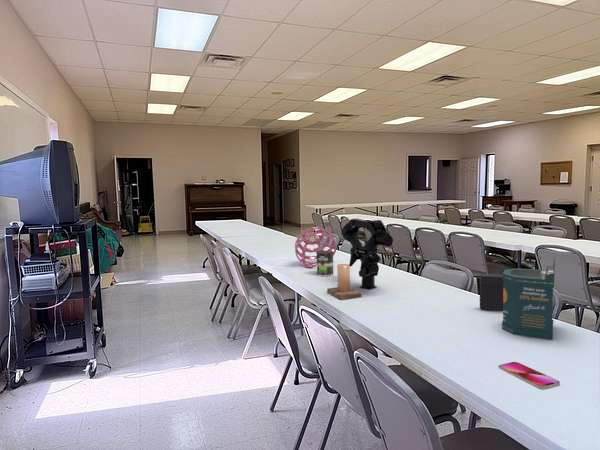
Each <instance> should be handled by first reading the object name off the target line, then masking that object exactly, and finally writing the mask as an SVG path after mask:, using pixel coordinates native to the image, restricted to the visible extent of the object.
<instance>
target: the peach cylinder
mask: <svg viewBox="0 0 600 450" xmlns="http://www.w3.org/2000/svg"><path fill="white" fill-rule="evenodd" d="M349 264H350V263H340V264H337V287H338V291H339V292H349V291H350V288H351V279H350V278H351V276H350V274H351V273H350V272H351V270H350V269H351V268H350V265H349Z"/></svg>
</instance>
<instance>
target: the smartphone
mask: <svg viewBox="0 0 600 450" xmlns="http://www.w3.org/2000/svg"><path fill="white" fill-rule="evenodd" d="M498 368H499V369H500V370H502V371H504V372H506V373H507V374H510V375H512V376H513V377H515V378H518V379H519V380H521V381H523V382H525V383H527V384H529V385H531V386H533V387H535V388H537V389H539V390H547V389H550V388H555V387H559V386H560V385H561V381H559V380H558V379H556V378H553V377H551V376H549V375H547V374H545V373H542V372H540V371H538V370H536V369H533V368H531V367H529V366H527V365H525V364H523V363H520V362H518V361H509V362H508V363H507V362H505V363H502V364H499V365H498Z"/></svg>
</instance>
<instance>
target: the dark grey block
mask: <svg viewBox="0 0 600 450" xmlns="http://www.w3.org/2000/svg"><path fill="white" fill-rule="evenodd" d="M503 290H504V280H503V274H488V273H487V274H486V273H484V274H480V275H479V309H480V311H487V312H489V311H490V312H500V313H501V312H502V313H503Z"/></svg>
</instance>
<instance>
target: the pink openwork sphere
mask: <svg viewBox="0 0 600 450" xmlns="http://www.w3.org/2000/svg"><path fill="white" fill-rule="evenodd" d="M314 231H317V232H314ZM310 232H313V233H310ZM307 233H309V234H307ZM306 234H307V235H306ZM316 236H319V237H318V238H316ZM311 237H312V238H314V240H311V241H310V239H311ZM324 237H326V240H325V241H324V243H323V244H322V245H321V244H320V243H321V242H322V240H323V239H324ZM300 238H301V239H300ZM330 241H332V242H331V245H330V247H329V248H328V249H327V250H326V251H333V257H334V256H335V254H336V252H337V247H338V246H337V242H336V239H335V237H334V235H333V234H332V233H331V232H330V231H328V230H327V229H325V228H322V227H320V226H312V227H309V228H306V229H305V230H303V231H302V232H301V233H300V234H299V235H298V237H297V238H296V240H295V243H294V249H295V251H294V253H295V256H296V258H297V259H298V260H299V262H301V263H302V264H303V265H304V266H305V268H309V269H313V268H315V267H317V261H316V262H315V261H314V262H312V261H311V262H310V260H317V255H306V253H316V252H317V251H325V248H326V247H327V246H329V243H330ZM302 242H303V243H304V245H302ZM308 245H309V246H313V245H314V246H315V245H317V247H315V248H307V246H308ZM334 247H335V248H334ZM298 248H299V249H300V250H301V252H300V250H298ZM306 260H309V261H306Z"/></svg>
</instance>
